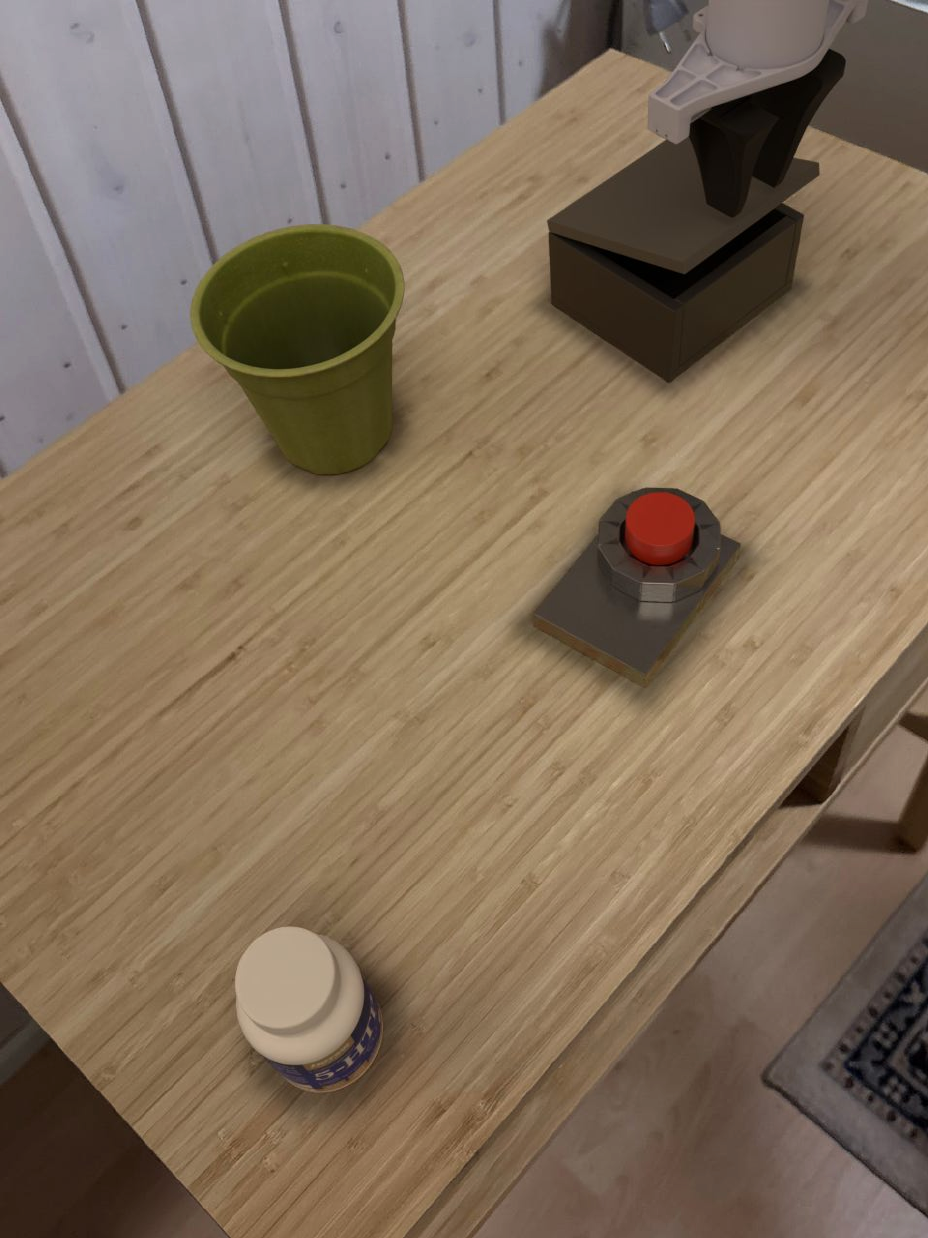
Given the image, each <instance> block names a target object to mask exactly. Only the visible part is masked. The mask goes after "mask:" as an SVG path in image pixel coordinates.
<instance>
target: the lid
mask: <svg viewBox="0 0 928 1238" xmlns="http://www.w3.org/2000/svg"><path fill="white" fill-rule="evenodd" d="M819 176H821V173H820V162H818V161H813V160H808V159H803V158H798V157H795V156H794V157H793V160H792V162H791V164H790V167H789V169H788V171H787V173H786V175H785V177H784V179H783V181H782V183H781V184H779V185H778V186H777V187H775V188H773V187H771V186H770V185H768V184H766V183H764V182H762V181H760V180H758V179H756V178H755V177H753V176H752V179H751V183H750V188H749V192H748V196H747V200H746V202H745V205H744V207H743V209H742V211H741V213H739V214H738V215H737V216H735V217H734V218H731V217H729V216H727V215H725V214H724V213H722V212H720V211H718V210H716V209H715V208H713V207H711V206H709V205H707V203H706V198H705V193H704V188H703V183H702V178H701V173H700V169H699V165H698V161H697V157H696V154H695V151H694V148H693V146H692V143H691V141H690V138H689V136H688V137H687V138H686V139H684V140H683V141H681V142H680V143H678V144H674V143H672V142H670V141H669V140H666V139H664V140H663V141H662V142H660V143H659V144H657V145H655V146H654V147H653V148H652V149H651V150H648V151H647V152H645V153H644V154H643V155H641V156H640V157H638V158H637V159H635V160H634V161H632V162H631V163H629V164H627V166H625V167H623V168H622V169H621V170H619V171H618V172H616V173H614V174H613V175H612V176H610V177H608V178H607V179H606V180H604V181H603V182H601V183H599V184H598V185H597V186H596V187H594V188H592V189H591V190H590V191H588V192H587V193H585V194H583V195H582V196H580V197H579V198H578V199H576V200H574V201H573V202H571V203H570V204H568V205H567V206H566V207H564V208H563V209H561V210H560V211H558V212H557V213H556V214H554V215H553V216H551V217H550V218H548V219H547V220H546V223H547V227H548V228H547V229H548V233H549V232H551V233H555V234H558V235H561V236H564V237H567V238H571V239H574V240H577V241H580V242H583V243H586V244H590V245H593V246H596V247H599V248H602V249H606V250H609V251H612V252H615V253H618V254H622V255H625V256H628V257H631V258H634V259H638V260H641V261H644V262H647V263H650V264H653V265H657V266H660V267H663V268H666V269H669V270H673V271H676V272H679V273H682V274H686V273H687V272H688V271H690V270H691V269H693V268H694V267H695V266H697V265H698V264H699V263H701V262H702V261H703V260H705V259H706V258H707V257H709V256H710V255H712V254H713V253H714V252H716V251H717V250H718V249H720V248H721V247H722V246H724V245H725V244H727V243H728V242H729V241H731V240H732V239H733V238H735V237H736V236H737V235H739V234H740V233H742V232H743V231H744V230H746V229H747V228H748V227H750V226H751V225H752V224H754V223H755V222H757V221H758V220H759V219H761V218H762V217H763V216H765V215H766V214H767V213H769V212H770V211H771V210H773V209H774V208H776V207H777V206H778V205H780V204H781V203H784V202H785V201H786V200H788V199H789V198H791V197H792V196H793V195H795V194H796V193H797V192H799V191H801V189H803V188H804V187H805V186H807V185H808V184H810V183H811V182H813V180H815V179H817V178H818V177H819Z"/></svg>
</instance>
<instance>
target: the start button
mask: <svg viewBox="0 0 928 1238" xmlns="http://www.w3.org/2000/svg"><path fill="white" fill-rule="evenodd" d="M694 526H695V515H694V512H693V510H692V508H691V506H690V505H689V504H688V503H687V502H686V501H685V500H684V499H682V498H680V497H679V496H676V495H674V494H671V493H665V492H655V493H649V494H646V495H643V496H641V497H639V498H638V499H636V500H635V501H634V502H633V503H632V504H631V506H630V507H629V509H628V511H627V514H626V527H625V541H626V545H627V548H628V549H629V551H630V552H631V553H632V554H633V555H634V556H635V557H636V558H637V559H639V560H641V561H643V562H645V563H648V564H652V565H667V564H671V563H674V562H676V561H678V560H680V559H682V558H683V557H684V556H685V555H686V554H687V553H688V552H689V550H690V548H691V546H692V543H693V534H694Z"/></svg>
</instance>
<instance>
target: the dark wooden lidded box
mask: <svg viewBox="0 0 928 1238" xmlns="http://www.w3.org/2000/svg"><path fill="white" fill-rule="evenodd" d="M804 220H805V214H804V213H802V212H800V211H798V210H796V209H794V208H793V207H791V206H789V205H787V204H785V203H784V202H782V203H781V204H780V205H778V206H777V207H776V208H774V209H773V210H771V211H770V212H769V213H767V214H766V215H765V216H763V217H762V218H761V219H759V220H758V221H757V222H755V223H754V224H752V225H751V226H750V227H748V228H747V229H746V230H744V231H743V232H742V233H740V234H739V235H737V236H736V237H735V238H733V239H732V240H731V241H729V242H728V243H727V244H725V245H724V246H722V247H721V248H720V249H718V250H717V251H716V252H714V253H713V254H712V255H710V256H709V257H707V258H706V259H705V260H703V261H702V262H701V263H699V264H698V265H697V266H695V267H694V268H693V269H691V270H690V271H688V272H687V273H686V274H682V273H679V272H676V271H673V270H669V269H666V268H663V267H660V266H657V265H653V264H650V263H647V262H644V261H641V260H638V259H634V258H631V257H628V256H625V255H622V254H618V253H615V252H612V251H609V250H606V249H602V248H599V247H596V246H593V245H590V244H586V243H583V242H580V241H577V240H574V239H571V238H567V237H564V236H561V235H558V234H555V233H551V232H549V231H548V232H547V235H548V257H549V258H548V260H549V278H550V279H549V282H550V283H549V284H550V304H551V305H552V306H553V307H555V308H557V309H558V310H559V311H561V312H563V313H564V314H566V315H567V316H568V317H570V318H572V319H573V320H574V321H576V322H577V323H579V324H581V325H582V326H584V327H585V328H586V329H588V330H589V331H591V332H592V333H594V334H595V335H597V336H598V337H600V338H601V339H603V340H605V341H606V342H607V343H609V344H610V345H612V346H613V347H615V348H616V349H618V350H619V351H621V352H622V353H624V354H625V355H627V356H628V357H630V358H631V359H632V360H634V361H636V362H637V363H639V364H640V365H642V366H643V367H644V368H646V369H648V370H649V371H651V372H652V373H654V374H655V375H657V376H658V377H660V378H661V379H662V380H664V381H666V382H667V383H671V382H672V381H674V380H675V379H676V378H677V377H679V376H680V375H682V374H683V373H684V372H685V371H687V370H688V369H690V368H691V367H692V366H693V365H694V364H696V363H697V362H698V361H700V360H701V359H702V358H704V357H705V356H706V355H707V354H709V353H710V352H711V351H713V350H714V349H716V347H718V346H719V345H720V344H721V343H723V342H725V340H727V339H728V338H730V337H731V336H732V335H733V334H735V333H736V332H737V331H739V330H740V329H741V328H743V326H745V325H746V324H748V323H749V322H750V321H751V320H753V319H754V318H755V317H757V316H758V315H760V314H761V313H762V312H763V311H764V310H766V309H767V308H768V307H770V306H771V305H773V304H774V303H775V302H777V301H778V300H779V299H780V298H781V297H783V296H784V295H785V294H786V293H788V292H789V291H790V290H792V287H793V282H794V275H795V270H796V263H797V258H798V253H799V247H800V242H801V236H802V230H803V226H804Z"/></svg>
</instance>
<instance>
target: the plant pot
mask: <svg viewBox="0 0 928 1238" xmlns="http://www.w3.org/2000/svg"><path fill="white" fill-rule="evenodd" d="M404 276H405V275H404V271H403V268H402V266H401V264H400V262H399V260H398V258H397V256H396V255H395V254H394V253H393V252H392V251H391V250H390V248H388V247H387V246H386V245H385V244H384V243H383V242H381V241H380V240H378V239H377V238H375V237H373V236H371V235H369V234H367V233H364V232H362V231H360V230H357V229H354V228H350V227H347V226H342V225H337V224H327V223H325V224H324V223H310V224H308V223H307V224H299V225H291V226H287V227H280V228H277V229H274V230H270V231H267V232H264V233H261V234H259V235H256V236H254V237H251V238H249V239H247V240H245V241H243V242H241V243H239V244H238V245H237V246H234V247H233V248H232V249H230V250H229V251H228V252H225V254H223V255H222V256H221V257H220V258H219V259H218V260H217V261H216V262H215V263H214V264H212V266H211V267H210V268H209V269H208V270H207V271H206V272H205V274H203V276H202V278H201V279H200V281H199V283H198V284H197V286H196V288H195V290H194V292H193V296H192V298H191V303H190V309H189V318H190V326H191V330H192V332H193V335H194V337H195V339H196V341H197V342H198V344H199V346H200V347H201V348H202V349H203V351H204V352H205V353H206V354H207V355H208V356H209V357H210V358H212V360H214V361H215V362H217V363H218V364H219V365H221V366H222V367H224V369H225V371H226V372H227V373H228V374H229V376H230V377H231V378H232V379H233V380H235V382H237V383H238V386H239V387H240V388H241V390H242V391H243V393H244V394H245V396H246V398H247V399H248V401H249V402H250V404H251V405H252V407H253V408H254V411H256V413H257V415H258V416H259V418H260V420H261V421H262V423H263V425H264V426H265V427H266V428H267V431H268V432H269V434H270V436H271V437H272V439H273V441H274V442H275V443H276V446H277V447H278V448H279V450H280V451H281V453H282V454H283V456H284V457H285V459H287V460H288V462H290V463H291V464H292V465H295V466H297V467H299V468H301V469H304V470H306V471H308V472H310V473H313V474H317V475H337V474H344V473H347V472H351V471H354V470H356V469H359V468H361V467H363V466H365V465H367V464H368V463H369V462H371V461H372V460H374V459H375V457H376V456H377V454H378V453H379V452H380V451H381V449H382V448H383V447H384V446H385V445H386V443H387V442H388V441H389V439H390V436H391V434H392V428H393V340H394V337H395V332H396V326H397V317H398V316H399V314H400V311H401V309H402V306H403V302H404V298H405V290H406V289H405V287H406V282H405V277H404Z"/></svg>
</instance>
